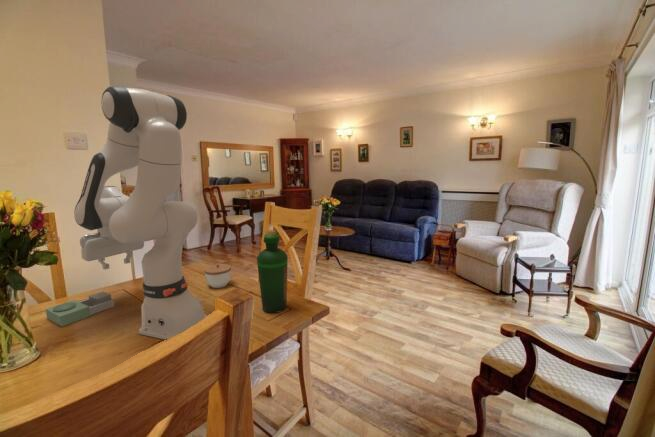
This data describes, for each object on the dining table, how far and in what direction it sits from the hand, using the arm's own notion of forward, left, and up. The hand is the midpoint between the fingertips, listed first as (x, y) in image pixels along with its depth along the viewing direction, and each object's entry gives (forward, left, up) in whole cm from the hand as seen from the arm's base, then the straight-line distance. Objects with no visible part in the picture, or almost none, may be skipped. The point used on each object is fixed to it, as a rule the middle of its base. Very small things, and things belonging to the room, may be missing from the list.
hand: (117, 265), depth 118 cm
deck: (0, +13, -13) cm, 18 cm away
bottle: (-57, -22, -13) cm, 63 cm away
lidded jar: (-23, -27, -13) cm, 38 cm away
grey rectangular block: (-1, +7, -13) cm, 15 cm away
